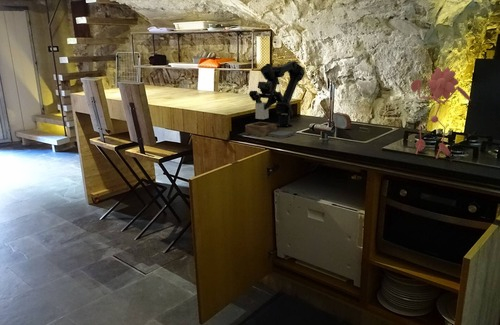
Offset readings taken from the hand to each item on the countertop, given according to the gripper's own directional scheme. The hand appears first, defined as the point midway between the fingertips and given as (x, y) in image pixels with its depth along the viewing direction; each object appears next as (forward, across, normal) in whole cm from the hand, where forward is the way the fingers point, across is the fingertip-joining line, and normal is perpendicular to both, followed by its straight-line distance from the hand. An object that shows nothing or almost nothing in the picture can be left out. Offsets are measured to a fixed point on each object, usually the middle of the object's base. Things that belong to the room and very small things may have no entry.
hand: (260, 108), depth 213 cm
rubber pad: (+8, +11, +11) cm, 18 cm away
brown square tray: (+8, -1, +11) cm, 14 cm away
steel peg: (+3, 0, +5) cm, 5 cm away
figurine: (+12, +86, +7) cm, 88 cm away
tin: (-14, +32, +34) cm, 48 cm away
